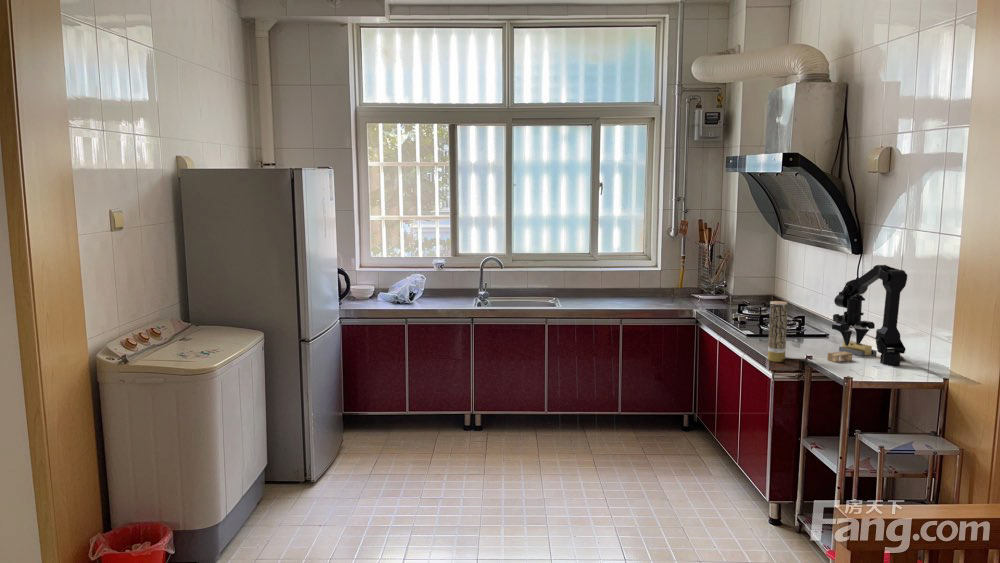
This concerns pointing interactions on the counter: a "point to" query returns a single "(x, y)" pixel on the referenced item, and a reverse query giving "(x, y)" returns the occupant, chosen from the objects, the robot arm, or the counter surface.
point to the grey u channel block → (857, 352)
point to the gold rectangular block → (859, 347)
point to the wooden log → (777, 331)
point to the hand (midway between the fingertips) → (852, 345)
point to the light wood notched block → (843, 356)
